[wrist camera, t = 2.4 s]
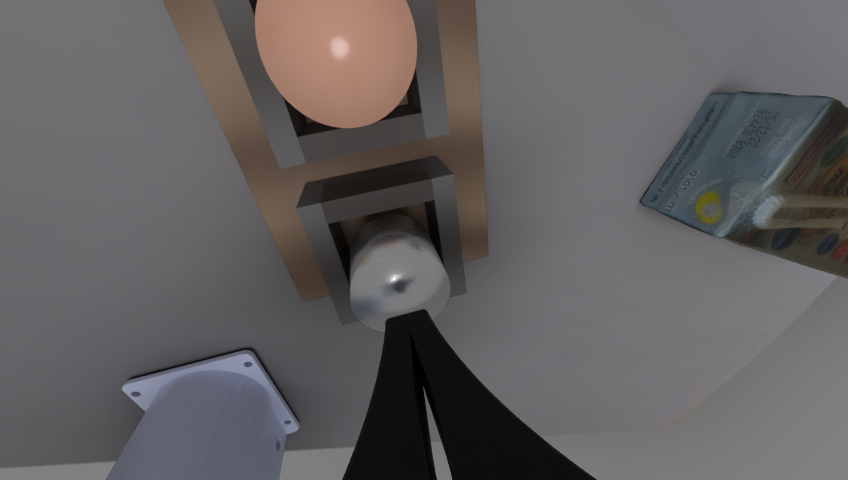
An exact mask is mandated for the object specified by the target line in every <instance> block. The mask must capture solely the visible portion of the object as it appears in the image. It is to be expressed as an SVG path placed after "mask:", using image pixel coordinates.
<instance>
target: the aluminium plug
mask: <svg viewBox="0 0 848 480" xmlns="http://www.w3.org/2000/svg"><path fill="white" fill-rule="evenodd" d="M449 296H450V281H449V277H448V275H447V273H446V270H445V268H444V266H443V264H442V262H441V260H440V258H439V256H438V253H437V251H436V249H435V247H434V245H433V243H432V241H431V238H430V236H429V234H428V232H427V231H426V229H425V228H424V227H423V225H421V224H420V223H419V222H418V221H416V220H415V219H413V218H411V217H408V216H405V215H400V214H387V215H382V216H378V217H376V218H373V219H371V220H370V221H368V222H366V223H365V224H364V225H363V226H362V227H361V228H360V229H359V230H358V231H357V232H356V234H355V236H354V237H353V240H352V242H351V246H350V303H351V307H352V310H353V312H354V314H355V316H356V317H357V318H358V319H359V321H360V322H362V323H363V324H364V325H365V326H367V327H369V328H371V329H373V330H376V331H379V332H384V333H385V321H386V320H387V319H388V318H391V317H395V316H399V315H402V314H406V313H410V312H414V311H418V310H422V309H425V310H427V311H428V313H429V315H430V317H431V319H432V320H434V319H435V318H436V317H437V316H438V315H439V314H440V313H441V312H442V310H443V309H444V307H445V306H446V304H447V302H448V299H449Z"/></svg>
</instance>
